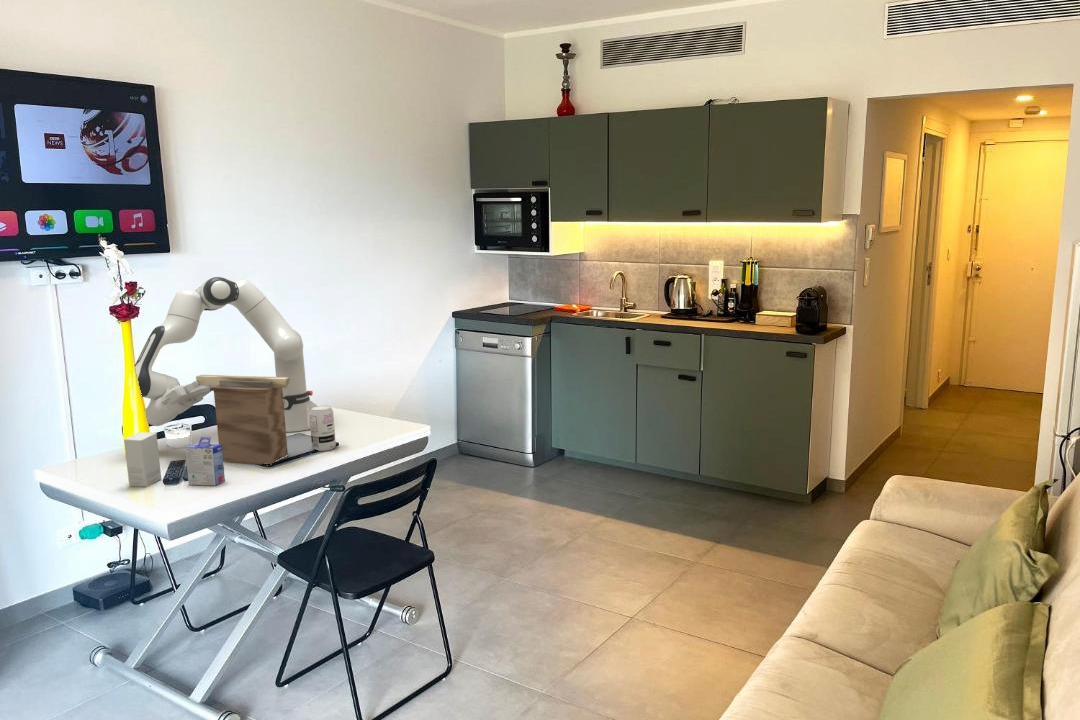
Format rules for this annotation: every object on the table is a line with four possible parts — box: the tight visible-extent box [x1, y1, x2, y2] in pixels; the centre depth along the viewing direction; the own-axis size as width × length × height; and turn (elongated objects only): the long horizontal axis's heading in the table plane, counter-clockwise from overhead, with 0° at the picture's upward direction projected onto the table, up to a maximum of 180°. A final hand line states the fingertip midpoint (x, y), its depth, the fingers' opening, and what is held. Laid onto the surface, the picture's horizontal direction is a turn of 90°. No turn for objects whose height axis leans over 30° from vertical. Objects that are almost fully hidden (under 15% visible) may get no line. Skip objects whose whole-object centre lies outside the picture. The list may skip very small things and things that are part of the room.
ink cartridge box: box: [185, 436, 226, 486], centre depth 263 cm, size 10×6×14 cm, turn 78°
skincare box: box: [123, 431, 162, 488], centre depth 265 cm, size 8×7×16 cm
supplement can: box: [309, 405, 337, 452], centre depth 299 cm, size 8×8×15 cm
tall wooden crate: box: [210, 380, 289, 466], centre depth 287 cm, size 11×22×28 cm, turn 73°
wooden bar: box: [195, 374, 290, 388], centre depth 285 cm, size 3×35×3 cm, turn 74°
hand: (207, 379), depth 289 cm, fingers open, 8 cm apart
